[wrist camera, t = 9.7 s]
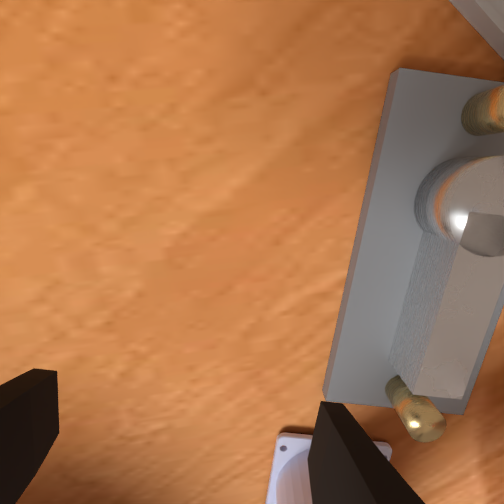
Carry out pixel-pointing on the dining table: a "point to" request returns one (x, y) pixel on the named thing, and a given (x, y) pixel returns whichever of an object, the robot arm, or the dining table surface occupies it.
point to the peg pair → (404, 402)
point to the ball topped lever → (452, 276)
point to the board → (400, 231)
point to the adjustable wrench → (485, 20)
